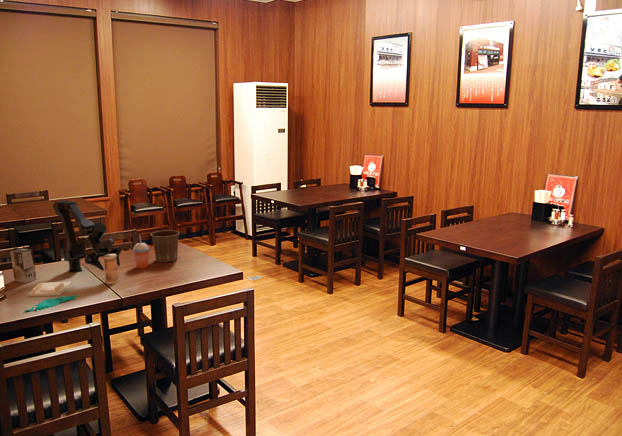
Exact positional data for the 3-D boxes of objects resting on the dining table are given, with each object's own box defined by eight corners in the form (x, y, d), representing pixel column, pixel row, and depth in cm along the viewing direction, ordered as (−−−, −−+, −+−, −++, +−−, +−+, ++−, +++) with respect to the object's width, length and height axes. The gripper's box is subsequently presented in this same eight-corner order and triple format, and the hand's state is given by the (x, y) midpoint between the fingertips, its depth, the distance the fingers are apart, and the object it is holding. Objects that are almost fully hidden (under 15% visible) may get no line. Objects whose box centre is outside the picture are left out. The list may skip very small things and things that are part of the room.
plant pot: (159, 255, 308) (158, 229, 305) (185, 256, 306) (183, 230, 302) (147, 263, 292) (145, 236, 289) (174, 264, 290) (172, 236, 287)
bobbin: (105, 280, 262) (102, 254, 259) (118, 279, 265) (115, 253, 262) (106, 284, 257) (103, 258, 254) (119, 282, 260) (117, 256, 257)
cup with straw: (145, 269, 281) (143, 237, 277) (130, 268, 283) (128, 237, 279) (153, 264, 290) (151, 233, 286) (139, 263, 292) (136, 233, 288)
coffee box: (37, 279, 265) (33, 249, 262) (25, 283, 260) (21, 252, 256) (25, 277, 269) (21, 247, 266) (13, 280, 263) (9, 250, 260)
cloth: (76, 293, 246) (76, 289, 246) (86, 301, 236) (86, 296, 236) (16, 307, 229) (15, 303, 228) (24, 316, 219) (24, 311, 219)
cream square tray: (43, 284, 257) (42, 278, 256) (72, 284, 258) (71, 278, 257) (29, 296, 241) (28, 289, 240) (59, 295, 242) (58, 288, 242)
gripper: (85, 238, 251) (100, 263, 247) (118, 231, 266) (133, 254, 262) (78, 251, 257) (92, 276, 253) (110, 243, 272) (125, 266, 268)
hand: (111, 267), depth 259 cm, fingers open, 9 cm apart
